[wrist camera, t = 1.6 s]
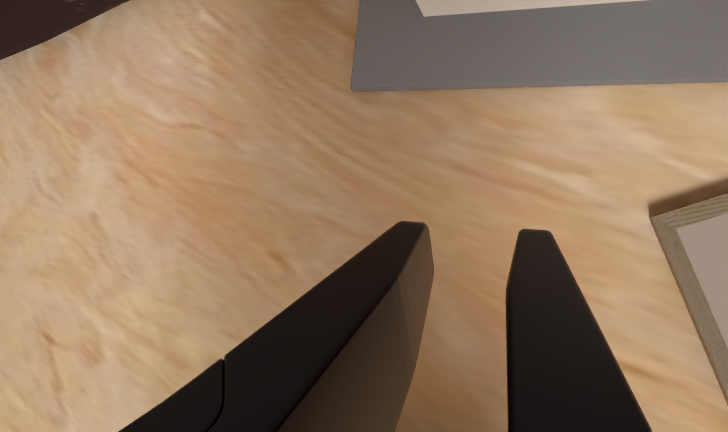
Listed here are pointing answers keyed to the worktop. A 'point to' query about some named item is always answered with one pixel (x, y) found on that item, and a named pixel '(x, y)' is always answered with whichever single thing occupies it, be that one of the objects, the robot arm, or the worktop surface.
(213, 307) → the worktop surface
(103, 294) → the worktop surface
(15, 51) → the diary
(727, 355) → the picture frame
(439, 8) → the white rectangular block
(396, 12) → the mat
